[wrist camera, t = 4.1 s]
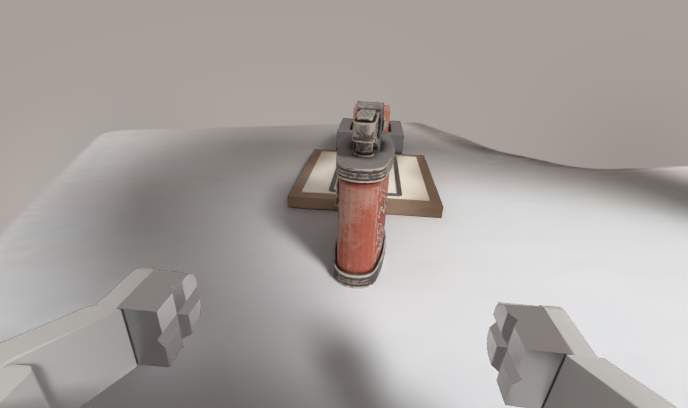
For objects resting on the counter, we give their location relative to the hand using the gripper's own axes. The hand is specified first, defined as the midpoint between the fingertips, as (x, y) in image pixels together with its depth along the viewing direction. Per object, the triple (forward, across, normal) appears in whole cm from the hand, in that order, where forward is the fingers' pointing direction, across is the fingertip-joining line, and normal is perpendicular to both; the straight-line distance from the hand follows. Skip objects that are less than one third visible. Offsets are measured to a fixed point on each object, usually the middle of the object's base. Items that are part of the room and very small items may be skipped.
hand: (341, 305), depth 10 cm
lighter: (+13, 0, +7) cm, 15 cm away
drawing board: (+26, 0, +7) cm, 27 cm away
